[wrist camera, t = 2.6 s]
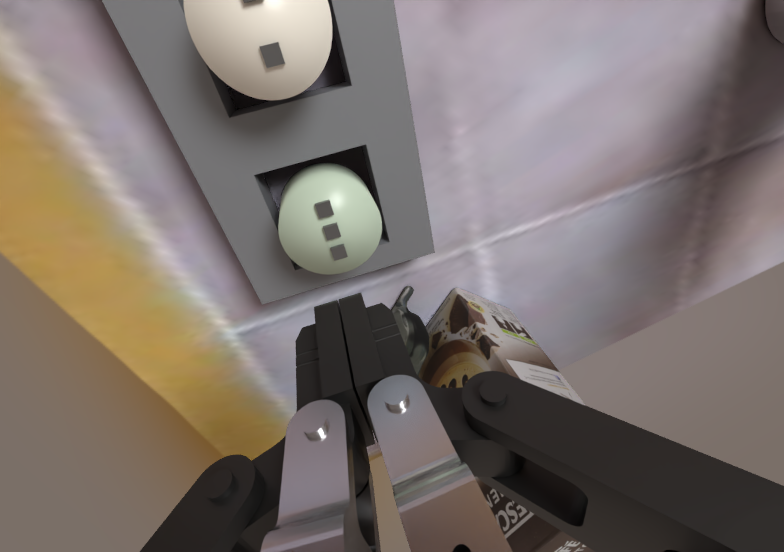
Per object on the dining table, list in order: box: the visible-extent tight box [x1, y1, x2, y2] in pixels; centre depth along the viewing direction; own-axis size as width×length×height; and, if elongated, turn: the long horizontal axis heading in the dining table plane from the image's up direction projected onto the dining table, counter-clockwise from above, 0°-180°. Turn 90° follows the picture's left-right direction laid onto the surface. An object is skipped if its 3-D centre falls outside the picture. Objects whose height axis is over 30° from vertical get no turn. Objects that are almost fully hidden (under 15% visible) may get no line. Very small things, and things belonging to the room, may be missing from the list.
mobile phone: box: [391, 286, 429, 375], centre depth 28 cm, size 5×3×15 cm
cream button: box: [184, 0, 332, 100], centre depth 14 cm, size 5×5×3 cm
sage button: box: [278, 163, 382, 275], centre depth 19 cm, size 5×5×3 cm
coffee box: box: [418, 288, 595, 552], centre depth 24 cm, size 9×6×16 cm
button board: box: [102, 0, 435, 305], centre depth 16 cm, size 26×11×2 cm, turn 13°
